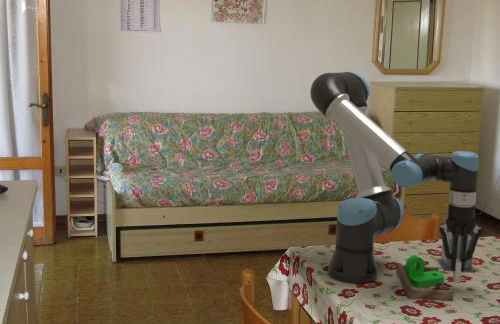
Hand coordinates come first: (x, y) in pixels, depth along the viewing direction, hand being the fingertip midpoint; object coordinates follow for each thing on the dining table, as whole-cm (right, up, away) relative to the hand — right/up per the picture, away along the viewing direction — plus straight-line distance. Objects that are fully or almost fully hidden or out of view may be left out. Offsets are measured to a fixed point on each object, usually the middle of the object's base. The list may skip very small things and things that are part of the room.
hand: (456, 281), depth 199 cm
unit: (+6, +1, +20) cm, 21 cm away
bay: (-9, -2, +2) cm, 10 cm away
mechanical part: (-8, -1, +5) cm, 9 cm away
